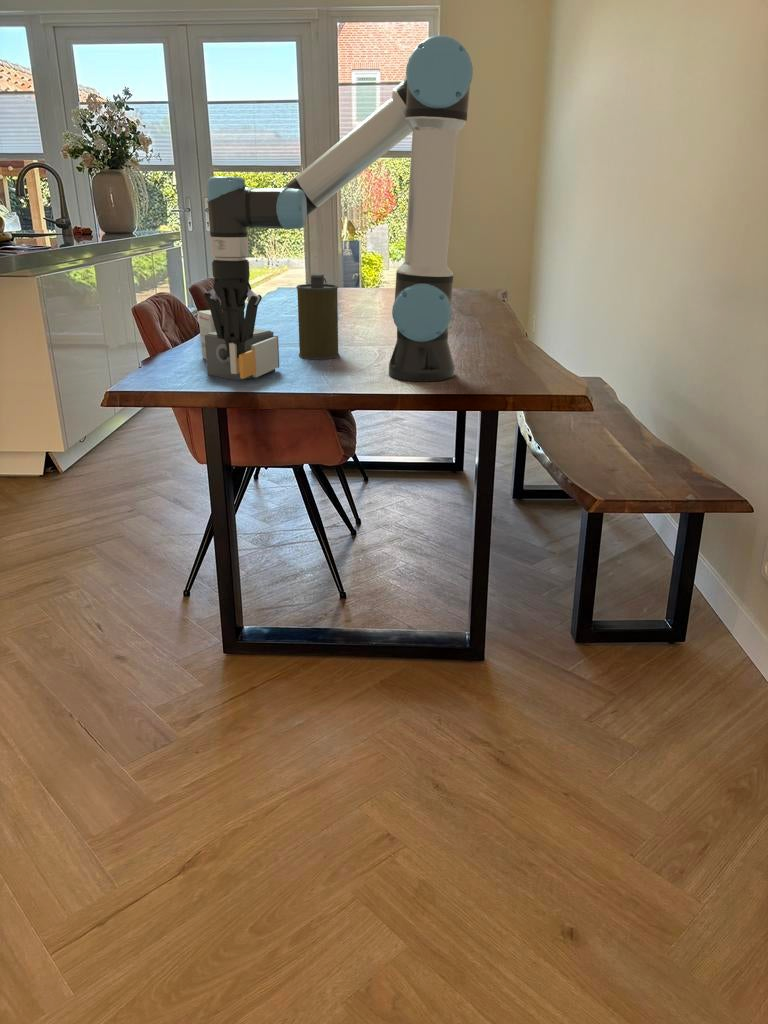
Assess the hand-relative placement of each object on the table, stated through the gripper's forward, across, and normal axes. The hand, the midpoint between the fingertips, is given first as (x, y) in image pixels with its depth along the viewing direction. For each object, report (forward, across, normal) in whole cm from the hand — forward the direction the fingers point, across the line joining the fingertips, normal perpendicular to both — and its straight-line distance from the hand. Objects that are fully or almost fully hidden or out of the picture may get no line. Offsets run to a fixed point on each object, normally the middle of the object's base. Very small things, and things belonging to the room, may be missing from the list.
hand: (237, 372), depth 166 cm
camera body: (+3, -5, +10) cm, 12 cm away
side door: (+2, +2, +6) cm, 7 cm away
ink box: (+3, -19, +20) cm, 28 cm away
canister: (+3, +2, +36) cm, 36 cm away
